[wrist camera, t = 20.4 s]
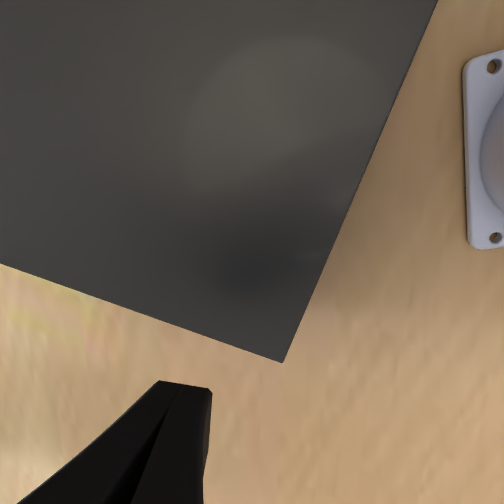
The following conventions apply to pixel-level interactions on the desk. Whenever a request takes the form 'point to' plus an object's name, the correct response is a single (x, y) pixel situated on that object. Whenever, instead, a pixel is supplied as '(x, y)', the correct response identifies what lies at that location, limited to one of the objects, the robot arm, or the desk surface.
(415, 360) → the desk surface
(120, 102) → the cabinet
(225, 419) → the desk surface
